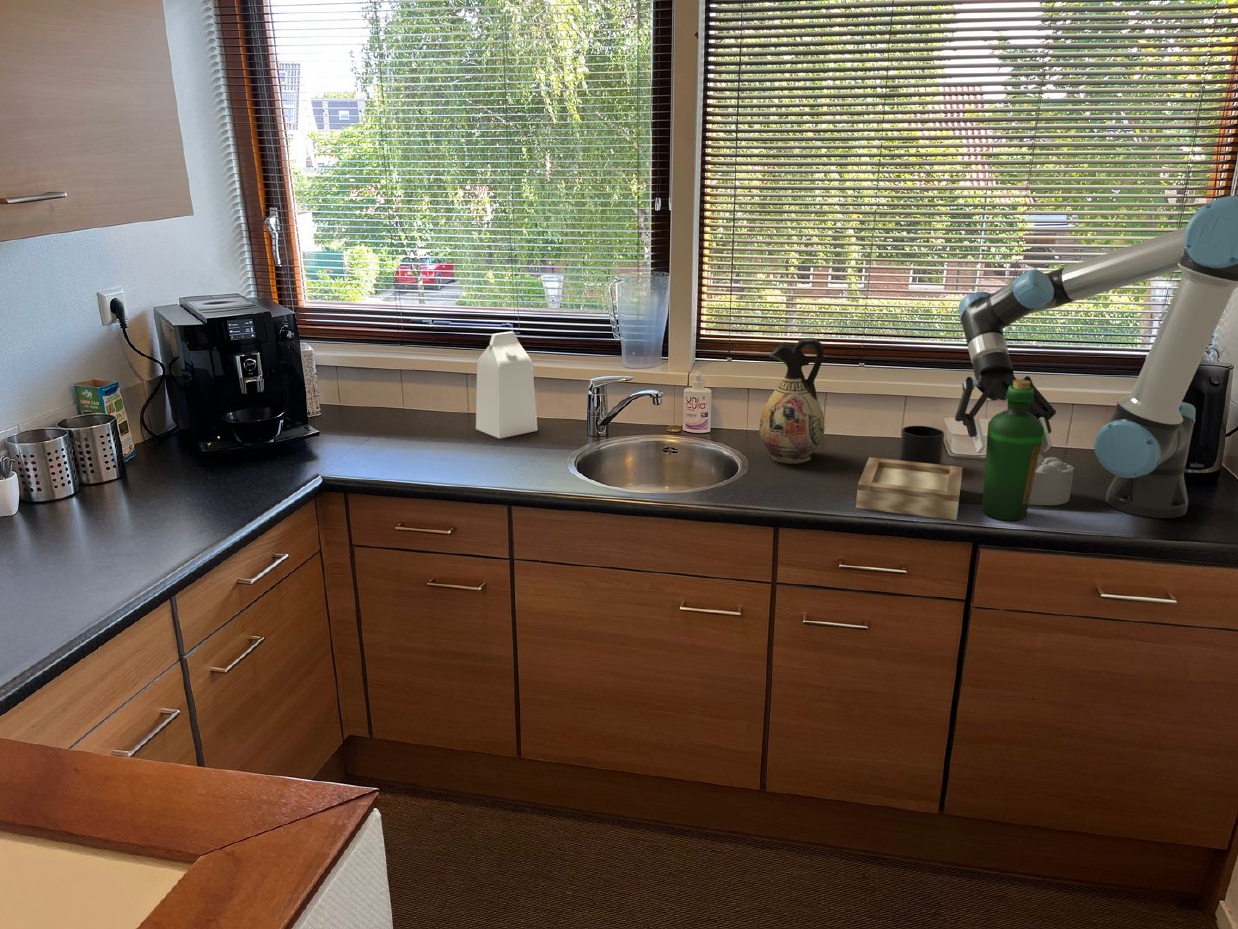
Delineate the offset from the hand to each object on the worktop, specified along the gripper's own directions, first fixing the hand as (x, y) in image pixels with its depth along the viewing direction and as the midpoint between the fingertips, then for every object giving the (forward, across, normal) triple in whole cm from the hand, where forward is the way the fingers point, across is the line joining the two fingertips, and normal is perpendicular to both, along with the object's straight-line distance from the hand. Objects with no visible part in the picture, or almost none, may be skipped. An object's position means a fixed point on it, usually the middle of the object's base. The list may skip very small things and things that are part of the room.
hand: (1014, 449), depth 193 cm
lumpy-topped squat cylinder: (+2, -12, -18) cm, 22 cm away
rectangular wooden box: (+2, +16, -19) cm, 24 cm away
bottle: (+9, 0, -11) cm, 15 cm away
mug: (-14, +6, -34) cm, 37 cm away
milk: (-40, +104, -61) cm, 127 cm away
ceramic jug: (-19, +34, -39) cm, 55 cm away
